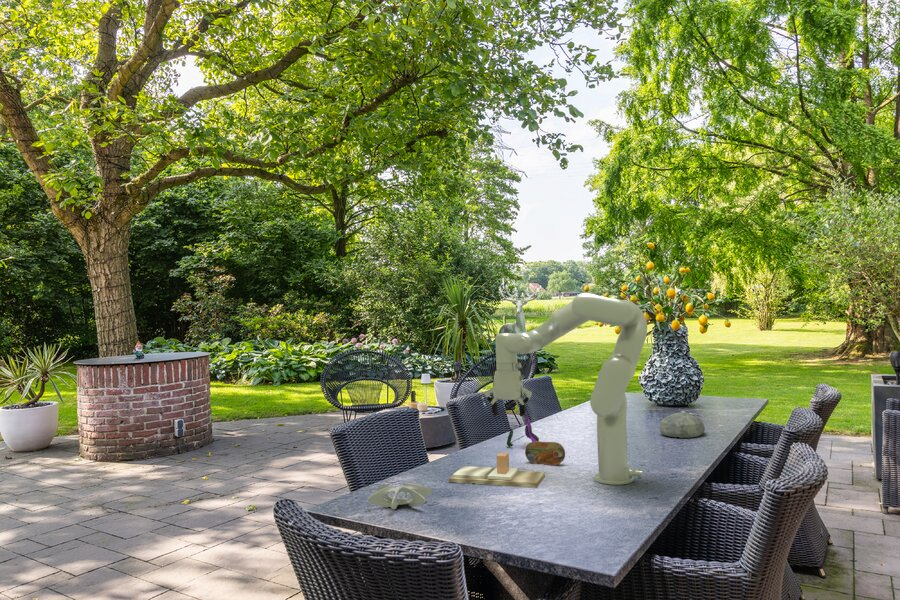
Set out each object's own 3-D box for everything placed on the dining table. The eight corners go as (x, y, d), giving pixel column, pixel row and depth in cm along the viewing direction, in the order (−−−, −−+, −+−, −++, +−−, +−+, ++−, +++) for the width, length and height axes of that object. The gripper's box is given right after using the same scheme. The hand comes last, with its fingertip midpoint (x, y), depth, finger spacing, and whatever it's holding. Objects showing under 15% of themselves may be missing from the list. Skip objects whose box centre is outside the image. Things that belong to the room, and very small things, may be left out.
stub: (518, 471, 216) (517, 450, 216) (510, 480, 205) (509, 458, 205) (496, 470, 218) (496, 450, 219) (487, 478, 207) (486, 457, 207)
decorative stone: (650, 434, 279) (649, 412, 279) (684, 429, 288) (684, 407, 288) (680, 441, 263) (679, 417, 263) (715, 435, 272) (714, 412, 272)
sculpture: (397, 493, 200) (396, 474, 200) (444, 503, 187) (444, 482, 188) (356, 508, 186) (355, 486, 187) (404, 520, 174) (403, 497, 174)
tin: (525, 463, 234) (524, 440, 234) (528, 461, 237) (527, 439, 237) (564, 466, 227) (563, 443, 227) (566, 464, 230) (565, 441, 230)
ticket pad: (544, 476, 214) (544, 469, 214) (536, 487, 201) (536, 479, 201) (461, 472, 224) (461, 465, 224) (449, 482, 210) (448, 474, 211)
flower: (513, 463, 255) (542, 448, 253) (495, 431, 257) (523, 415, 255) (516, 455, 270) (544, 440, 268) (499, 424, 272) (526, 410, 269)
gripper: (533, 366, 223) (534, 414, 223) (486, 366, 229) (488, 413, 229) (528, 368, 216) (530, 417, 216) (480, 368, 222) (482, 416, 221)
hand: (508, 415), depth 222 cm, fingers open, 9 cm apart
